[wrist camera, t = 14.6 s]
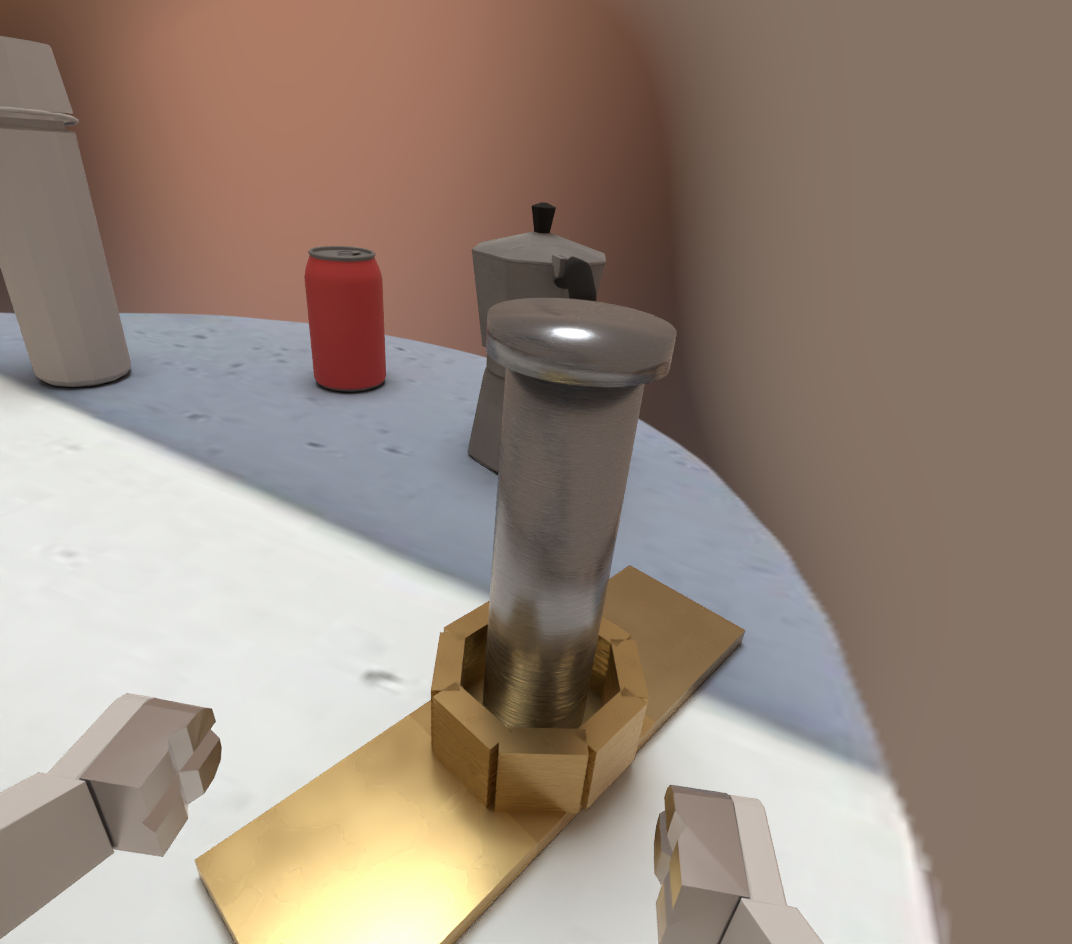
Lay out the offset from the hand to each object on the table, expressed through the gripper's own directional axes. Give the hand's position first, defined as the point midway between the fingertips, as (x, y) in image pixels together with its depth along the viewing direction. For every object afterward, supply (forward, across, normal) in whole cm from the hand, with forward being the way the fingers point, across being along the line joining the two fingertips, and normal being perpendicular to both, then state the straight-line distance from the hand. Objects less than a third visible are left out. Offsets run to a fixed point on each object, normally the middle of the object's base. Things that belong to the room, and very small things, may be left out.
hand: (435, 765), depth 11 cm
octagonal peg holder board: (+10, -2, +11) cm, 15 cm away
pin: (+10, -1, +10) cm, 14 cm away
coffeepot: (+35, +2, +12) cm, 37 cm away
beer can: (+46, +21, +12) cm, 52 cm away
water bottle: (+41, +43, +12) cm, 61 cm away
